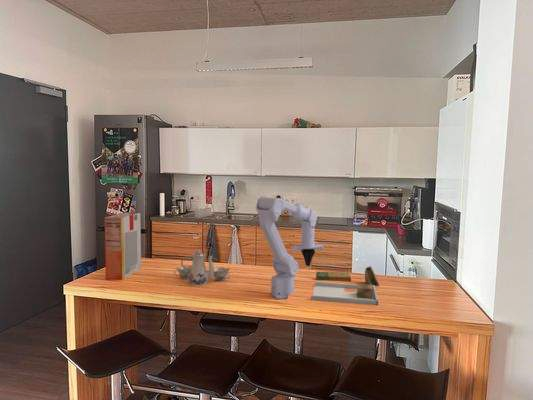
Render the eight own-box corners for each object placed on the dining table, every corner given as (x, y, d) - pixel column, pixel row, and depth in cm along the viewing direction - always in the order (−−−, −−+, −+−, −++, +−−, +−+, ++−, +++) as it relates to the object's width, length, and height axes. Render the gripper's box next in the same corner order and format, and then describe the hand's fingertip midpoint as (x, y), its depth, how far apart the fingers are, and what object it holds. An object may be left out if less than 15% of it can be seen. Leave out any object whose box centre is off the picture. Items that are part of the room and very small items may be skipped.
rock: (360, 276, 184) (356, 278, 175) (371, 263, 183) (368, 265, 173) (377, 292, 180) (374, 295, 171) (389, 279, 179) (387, 282, 170)
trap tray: (310, 303, 152) (311, 294, 152) (314, 288, 172) (315, 281, 171) (378, 308, 147) (378, 299, 147) (374, 293, 166) (374, 285, 166)
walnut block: (357, 297, 155) (357, 288, 155) (356, 293, 161) (357, 283, 161) (372, 298, 154) (372, 289, 154) (371, 294, 160) (371, 284, 160)
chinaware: (232, 280, 189) (232, 247, 189) (226, 287, 172) (227, 250, 172) (176, 279, 190) (177, 245, 191) (166, 285, 174) (167, 249, 174)
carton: (351, 285, 178) (351, 276, 178) (316, 284, 180) (316, 275, 180) (348, 280, 187) (349, 271, 186) (315, 279, 188) (316, 270, 188)
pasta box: (126, 267, 205) (125, 212, 203) (141, 267, 205) (140, 212, 202) (105, 279, 182) (104, 217, 180) (122, 280, 182) (121, 217, 180)
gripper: (295, 238, 165) (295, 268, 166) (326, 236, 168) (326, 266, 170) (290, 235, 171) (290, 264, 173) (320, 233, 175) (320, 262, 176)
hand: (307, 265), depth 172 cm, fingers closed
